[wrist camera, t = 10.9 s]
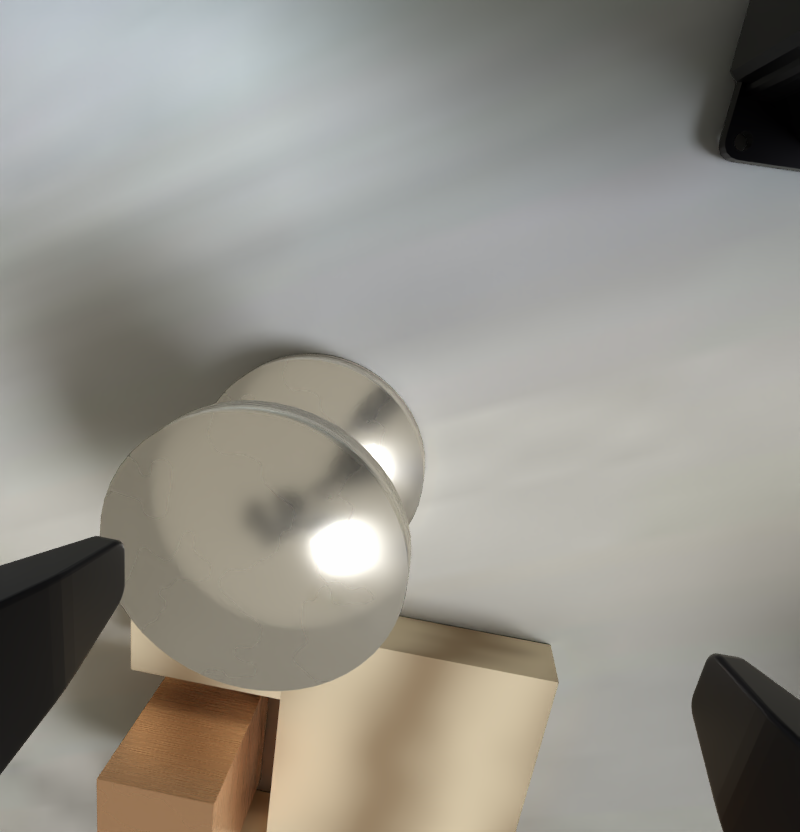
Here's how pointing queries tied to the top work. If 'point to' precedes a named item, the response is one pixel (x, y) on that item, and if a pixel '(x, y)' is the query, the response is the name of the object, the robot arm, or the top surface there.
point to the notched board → (403, 734)
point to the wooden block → (185, 762)
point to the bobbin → (272, 525)
